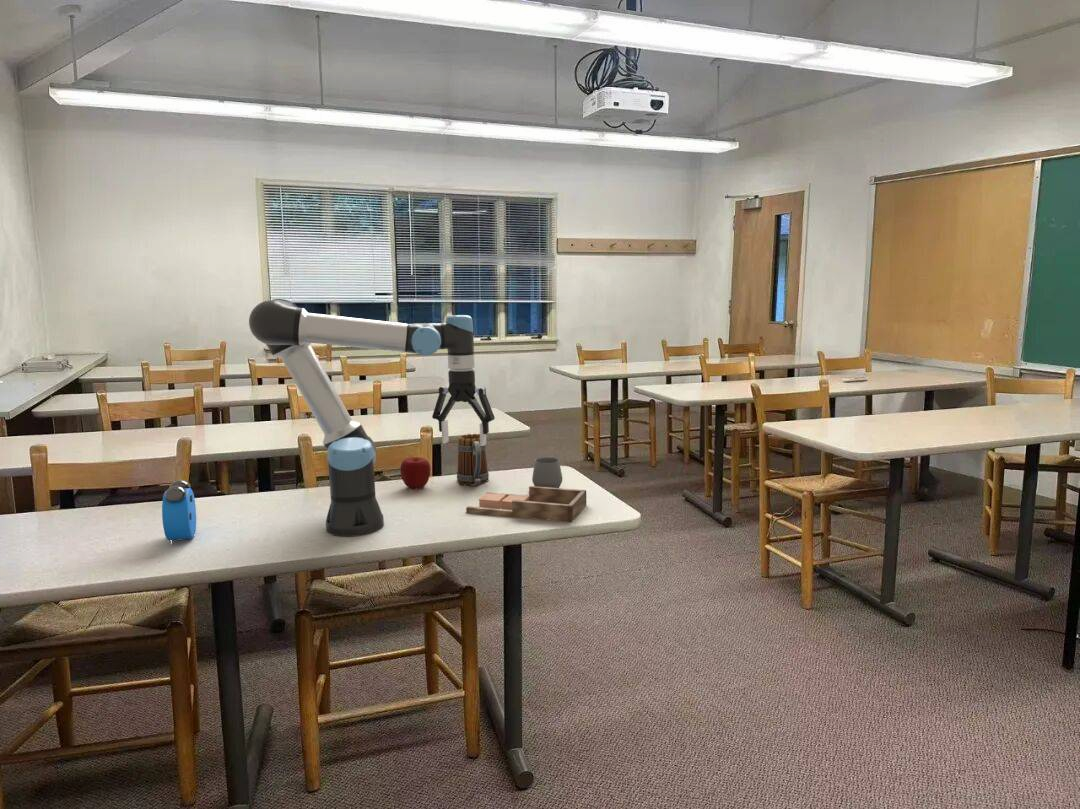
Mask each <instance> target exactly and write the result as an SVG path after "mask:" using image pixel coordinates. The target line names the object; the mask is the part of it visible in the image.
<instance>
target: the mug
mask: <svg viewBox="0 0 1080 809" xmlns="http://www.w3.org/2000/svg"><path fill="white" fill-rule="evenodd" d="M458 437H459V438H458V443H457V450H458V452H457V472H456V480H457V482H458V483H459V484H461V485H464V484H465V486H466V485H467V486H475V485H477V486H478V485H482V484H486V483H487V482H488V481H489V478H490V473H489V468H488V462H487V461H488V460H487V452H486V449H487V446H486V445H487V443H486V444H485V445H484V446H480V433H479V434H477V433H473V434H471V433H469V434H462V435H459V436H458Z"/></svg>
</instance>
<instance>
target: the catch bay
mask: <svg viewBox="0 0 1080 809" xmlns="http://www.w3.org/2000/svg"><path fill="white" fill-rule="evenodd" d="M487 493H488V494H502V495H506V497H508V496H509V495H515V496H525V497H529V501H521V500H513V501H512V510H506V509H502V508H501V509H494V508H483V507H479V506H471V505H470V506H469V505H467V506H466V507H465V512H466V513H467V514H479V515H488V516H489V515H490V516H501V517H502V516H503V517H512V518H521V519H535V520H543V521H544V520H546V521H554V522H566V523H567V522H568V523H573V522H574V520H575V519H576V518H577V517H578V516H579V515H580V513H581V512H582V511H583V510H584V508H585V507H586V506H587V490H586V489H577V488H576V489H575V488H563V487H562V488H561V487H559V488H551V487H538V486H533V485H529V487H528V495H526V494H514V493H504V492H503V493H501V492H489V491H488V492H485V494H487Z"/></svg>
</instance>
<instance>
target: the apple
mask: <svg viewBox="0 0 1080 809" xmlns="http://www.w3.org/2000/svg"><path fill="white" fill-rule="evenodd" d="M399 469H400V470H399V471H400V477H401V480H402V481H403V483H404V486H406V487H407V488H408V489H411V490H418V489H423V488H424V487H426V485H427V483H428V481H429V480H430V476H431V465H430V462H429V461H428V460H427V459H426V458H424V457H421V456H412V457H407V458H405V459H403V460H402V462H401V463H400V468H399Z"/></svg>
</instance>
